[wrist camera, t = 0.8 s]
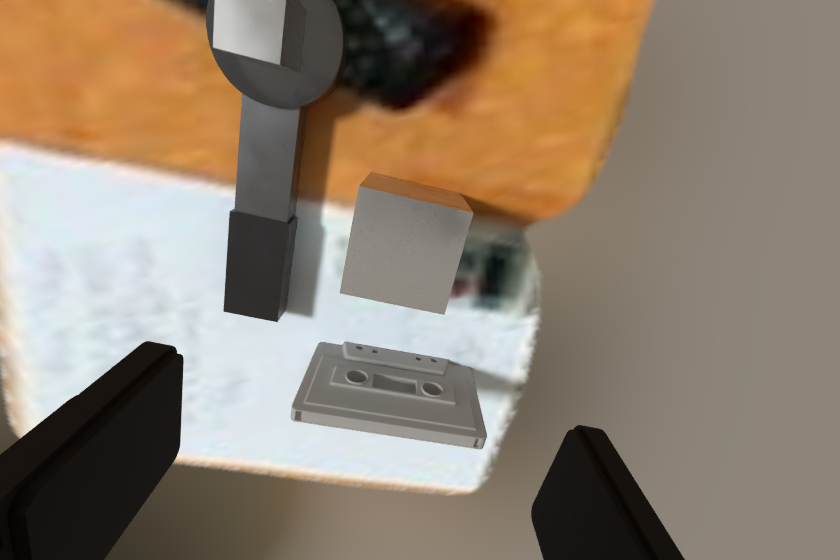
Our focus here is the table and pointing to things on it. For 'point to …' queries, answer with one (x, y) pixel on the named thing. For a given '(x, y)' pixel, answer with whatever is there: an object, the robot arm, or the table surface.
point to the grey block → (405, 243)
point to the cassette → (390, 395)
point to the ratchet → (271, 131)
